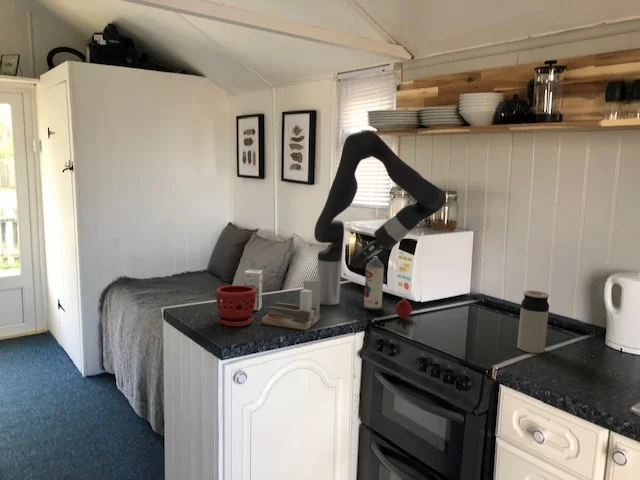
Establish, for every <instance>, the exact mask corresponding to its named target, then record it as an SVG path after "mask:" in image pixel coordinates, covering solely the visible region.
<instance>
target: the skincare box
mask: <svg viewBox="0 0 640 480" xmlns="http://www.w3.org/2000/svg"><path fill="white" fill-rule="evenodd" d="M303 289H307V290H312V307H316V313H319V314H320V311H321V310H320V308H321V307H320V306H321V304H320V280H317V279H314V278H313V279H308V278H307V279H306V278H304V279H303Z"/></svg>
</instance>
